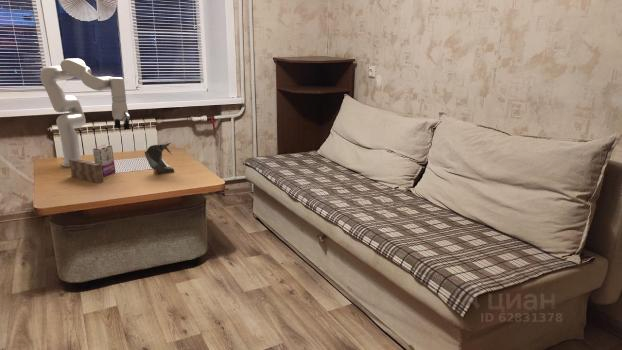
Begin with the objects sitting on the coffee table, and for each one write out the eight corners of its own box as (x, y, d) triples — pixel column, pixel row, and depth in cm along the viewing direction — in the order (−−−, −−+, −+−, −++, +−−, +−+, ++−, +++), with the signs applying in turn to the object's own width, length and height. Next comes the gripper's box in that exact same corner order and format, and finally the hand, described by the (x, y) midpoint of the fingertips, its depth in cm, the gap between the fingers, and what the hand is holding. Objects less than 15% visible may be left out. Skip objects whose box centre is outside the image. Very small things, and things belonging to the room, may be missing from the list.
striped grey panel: (71, 176, 252) (69, 159, 250) (76, 175, 255) (74, 158, 252) (98, 183, 241) (95, 165, 238) (103, 181, 243) (100, 164, 241)
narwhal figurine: (146, 170, 266) (143, 141, 261) (173, 168, 271) (170, 139, 266) (146, 176, 253) (143, 146, 248) (174, 174, 258) (172, 144, 253)
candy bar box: (108, 171, 264) (104, 144, 259) (115, 171, 263) (112, 144, 258) (95, 176, 253) (92, 148, 249) (103, 177, 252) (100, 149, 248)
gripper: (105, 98, 258) (108, 127, 263) (121, 101, 248) (124, 131, 253) (117, 97, 264) (120, 125, 269) (133, 99, 254) (136, 129, 259)
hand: (122, 128), depth 261 cm, fingers open, 9 cm apart
